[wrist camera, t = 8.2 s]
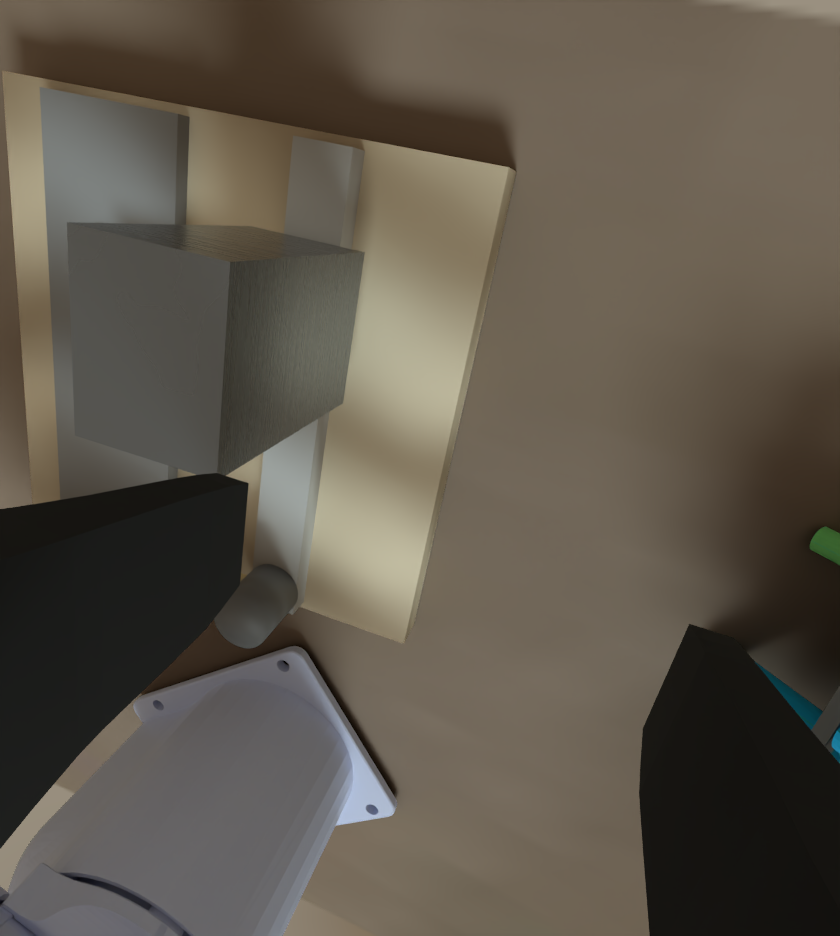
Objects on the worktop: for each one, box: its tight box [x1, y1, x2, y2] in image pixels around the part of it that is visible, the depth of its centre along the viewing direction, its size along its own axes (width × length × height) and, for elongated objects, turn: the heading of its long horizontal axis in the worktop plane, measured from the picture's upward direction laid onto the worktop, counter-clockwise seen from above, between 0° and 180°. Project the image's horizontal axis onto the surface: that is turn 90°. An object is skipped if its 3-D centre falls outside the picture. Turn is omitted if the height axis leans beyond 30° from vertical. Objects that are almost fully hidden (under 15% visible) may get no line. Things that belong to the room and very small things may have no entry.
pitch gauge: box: [2, 71, 516, 648], centre depth 19 cm, size 14×15×4 cm
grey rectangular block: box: [67, 222, 365, 476], centre depth 14 cm, size 4×7×6 cm, turn 79°
